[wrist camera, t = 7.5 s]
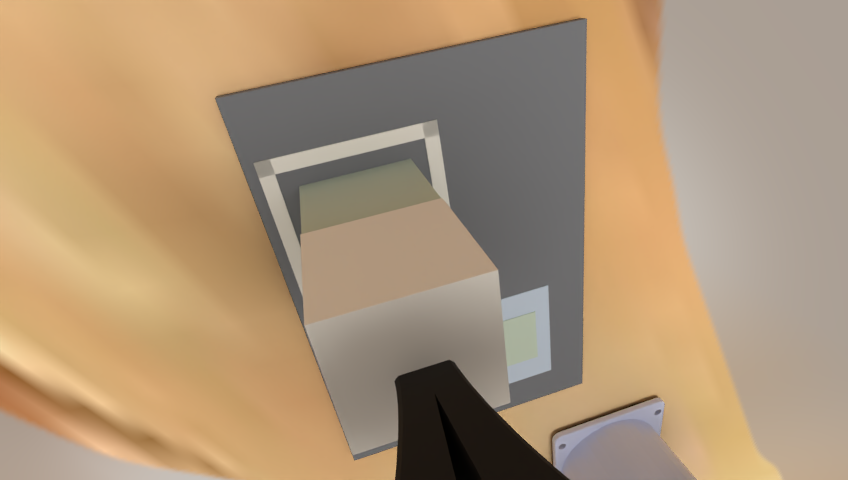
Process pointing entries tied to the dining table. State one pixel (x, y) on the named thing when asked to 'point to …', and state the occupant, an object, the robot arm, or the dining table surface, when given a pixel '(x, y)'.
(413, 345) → the top block
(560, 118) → the mat
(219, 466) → the dining table surface
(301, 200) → the base block
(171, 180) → the dining table surface
